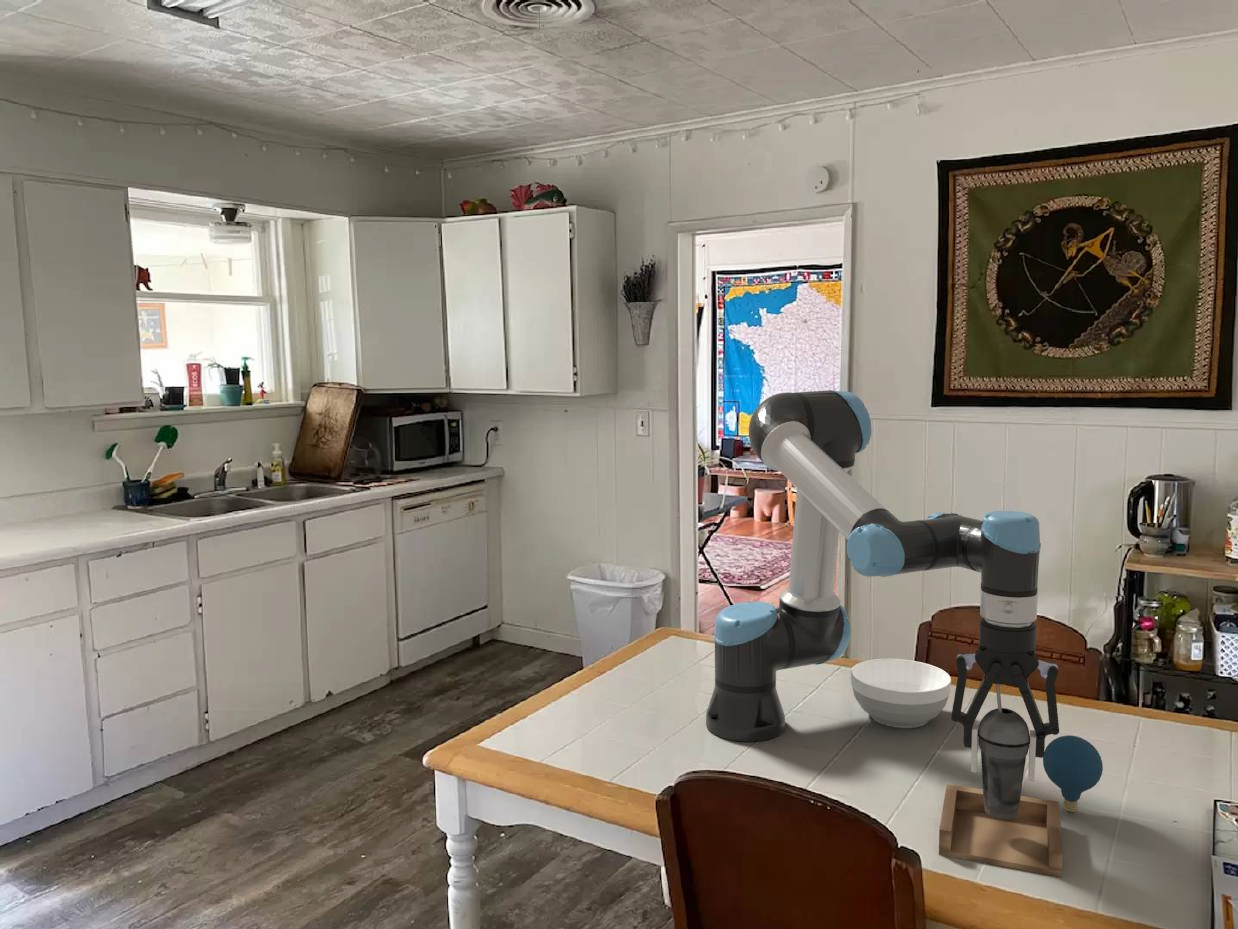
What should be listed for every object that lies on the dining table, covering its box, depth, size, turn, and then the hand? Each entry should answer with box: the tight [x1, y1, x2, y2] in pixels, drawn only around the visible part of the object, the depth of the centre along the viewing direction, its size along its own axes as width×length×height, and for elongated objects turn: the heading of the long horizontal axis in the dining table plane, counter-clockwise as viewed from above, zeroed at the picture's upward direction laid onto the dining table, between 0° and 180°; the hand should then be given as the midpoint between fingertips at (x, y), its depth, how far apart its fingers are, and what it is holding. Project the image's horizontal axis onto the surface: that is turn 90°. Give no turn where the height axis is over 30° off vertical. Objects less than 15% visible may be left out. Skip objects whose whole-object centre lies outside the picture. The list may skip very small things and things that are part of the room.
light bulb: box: [1042, 735, 1104, 813], centre depth 145 cm, size 8×8×12 cm
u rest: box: [938, 783, 1064, 878], centre depth 138 cm, size 16×15×4 cm
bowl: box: [850, 658, 952, 729], centre depth 183 cm, size 19×19×9 cm
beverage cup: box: [978, 684, 1030, 819], centre depth 136 cm, size 7×7×20 cm
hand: (1002, 772), depth 137 cm, fingers closed on beverage cup, 7 cm apart
